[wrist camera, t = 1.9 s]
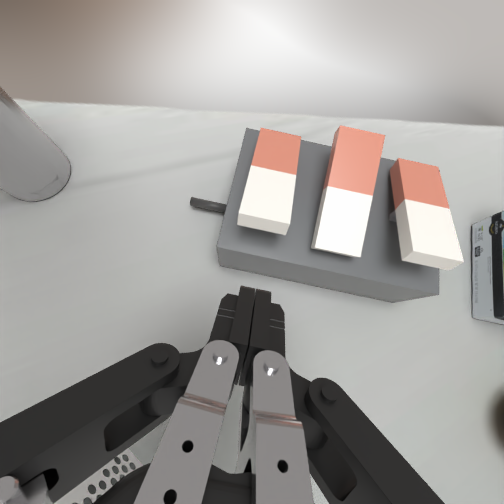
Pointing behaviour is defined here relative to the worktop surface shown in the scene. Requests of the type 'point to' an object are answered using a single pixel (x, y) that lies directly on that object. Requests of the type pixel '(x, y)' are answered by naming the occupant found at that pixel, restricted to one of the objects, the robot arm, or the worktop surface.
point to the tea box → (488, 269)
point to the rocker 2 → (348, 191)
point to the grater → (82, 489)
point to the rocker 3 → (424, 216)
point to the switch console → (302, 230)
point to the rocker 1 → (271, 183)
